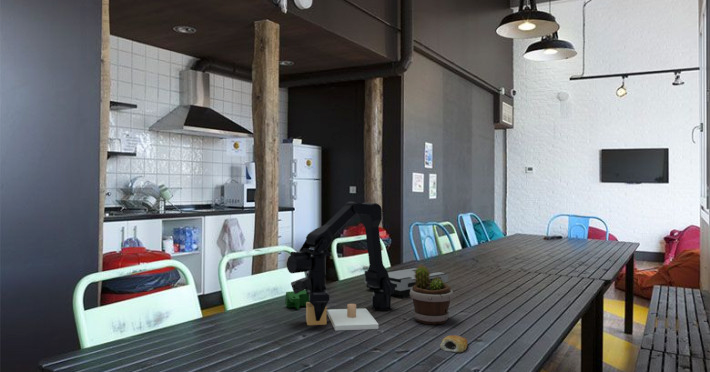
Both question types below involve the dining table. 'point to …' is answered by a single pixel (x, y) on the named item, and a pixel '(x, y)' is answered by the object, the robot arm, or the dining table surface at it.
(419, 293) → the flowerpot
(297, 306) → the clamp
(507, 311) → the dining table surface
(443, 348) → the pastry
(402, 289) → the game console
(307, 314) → the cardboard box
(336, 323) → the plate
